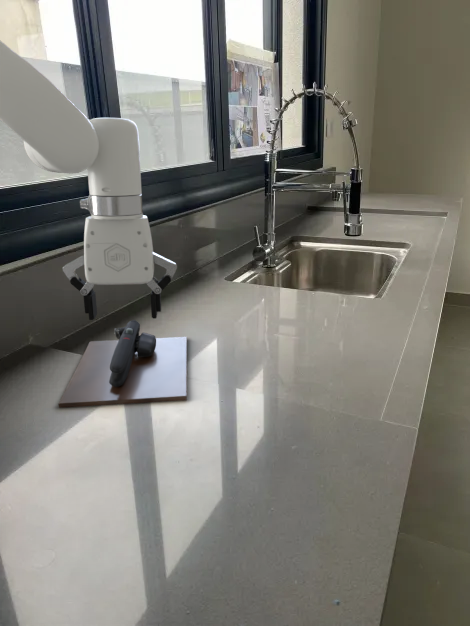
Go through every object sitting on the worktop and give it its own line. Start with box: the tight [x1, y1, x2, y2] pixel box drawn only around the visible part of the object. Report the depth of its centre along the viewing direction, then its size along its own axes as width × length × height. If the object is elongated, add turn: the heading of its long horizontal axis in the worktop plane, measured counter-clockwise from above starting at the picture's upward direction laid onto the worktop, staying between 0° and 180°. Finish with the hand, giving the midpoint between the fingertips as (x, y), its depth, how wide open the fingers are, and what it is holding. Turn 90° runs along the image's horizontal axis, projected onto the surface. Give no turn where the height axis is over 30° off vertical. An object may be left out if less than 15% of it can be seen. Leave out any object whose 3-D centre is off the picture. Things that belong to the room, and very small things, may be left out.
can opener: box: [109, 319, 157, 387], centre depth 81 cm, size 18×7×6 cm, turn 178°
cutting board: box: [57, 336, 188, 409], centre depth 82 cm, size 18×24×2 cm
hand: (124, 316), depth 79 cm, fingers open, 9 cm apart
